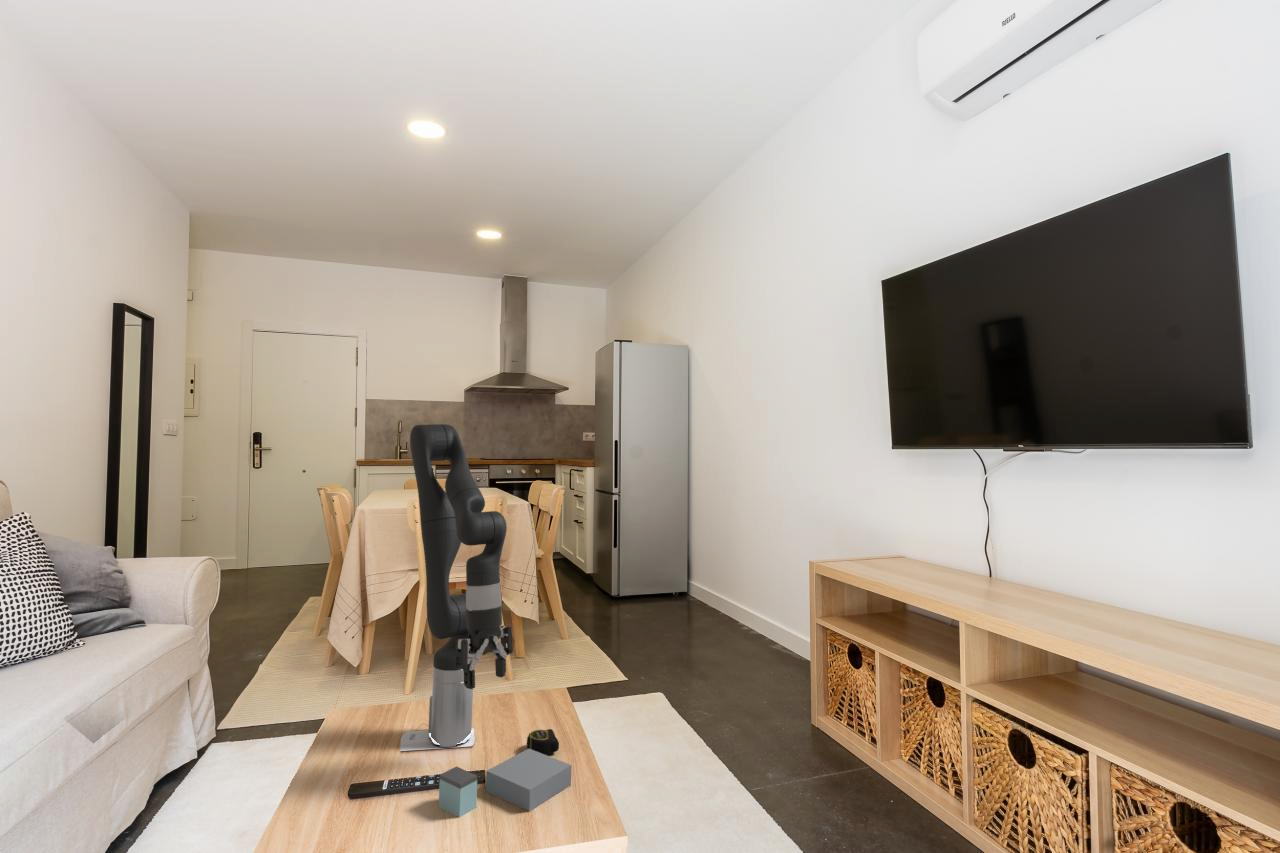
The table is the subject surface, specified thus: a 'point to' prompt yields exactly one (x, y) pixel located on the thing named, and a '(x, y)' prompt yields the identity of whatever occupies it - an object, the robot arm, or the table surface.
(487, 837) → the table surface
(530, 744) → the tape measure
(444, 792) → the block
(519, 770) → the stand
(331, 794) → the table surface
